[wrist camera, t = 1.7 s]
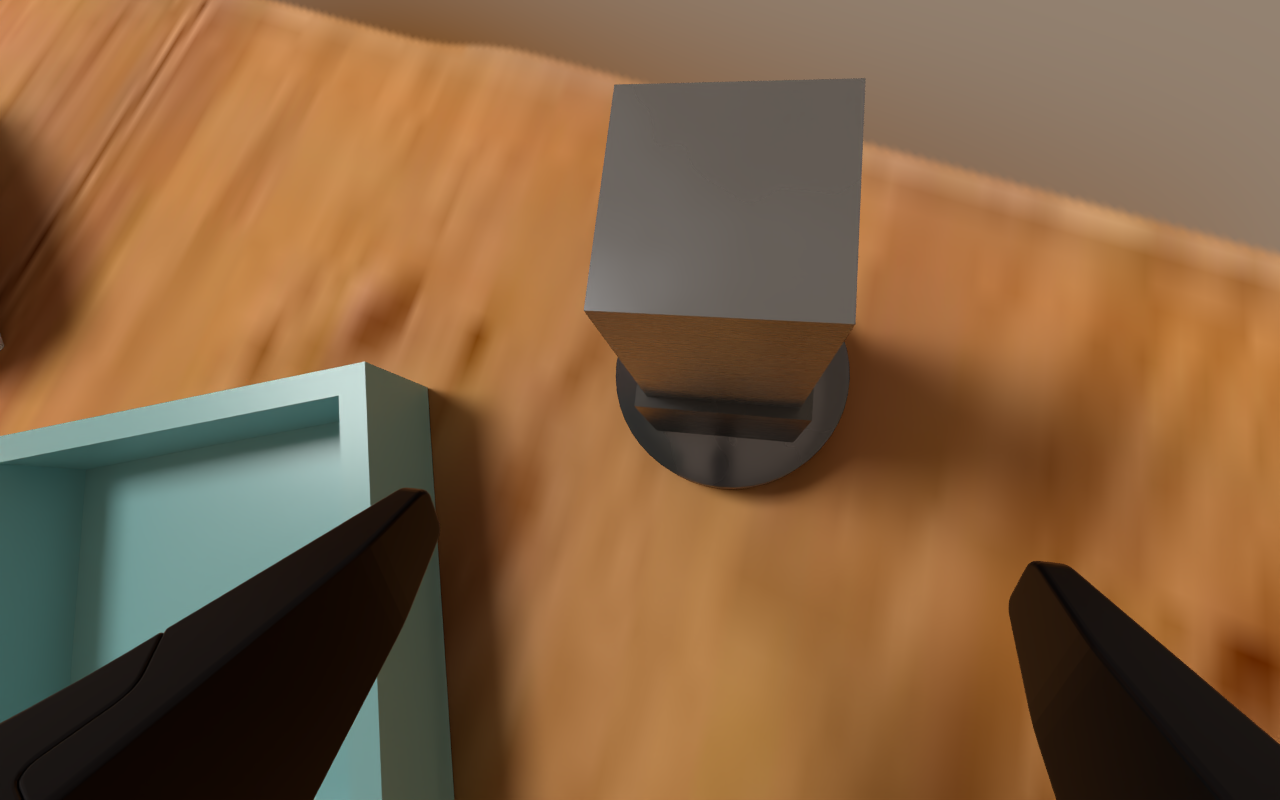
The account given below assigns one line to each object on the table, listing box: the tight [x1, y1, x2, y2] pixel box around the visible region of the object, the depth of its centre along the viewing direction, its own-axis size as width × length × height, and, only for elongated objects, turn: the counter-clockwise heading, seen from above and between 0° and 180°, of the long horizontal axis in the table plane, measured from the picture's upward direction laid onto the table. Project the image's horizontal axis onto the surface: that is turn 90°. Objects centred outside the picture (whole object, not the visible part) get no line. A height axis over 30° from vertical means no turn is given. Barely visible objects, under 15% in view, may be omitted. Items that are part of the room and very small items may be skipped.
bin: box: [0, 362, 454, 800], centre depth 20 cm, size 16×16×4 cm
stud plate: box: [616, 342, 850, 489], centre depth 18 cm, size 8×8×5 cm
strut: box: [584, 78, 865, 442], centre depth 14 cm, size 5×5×11 cm
